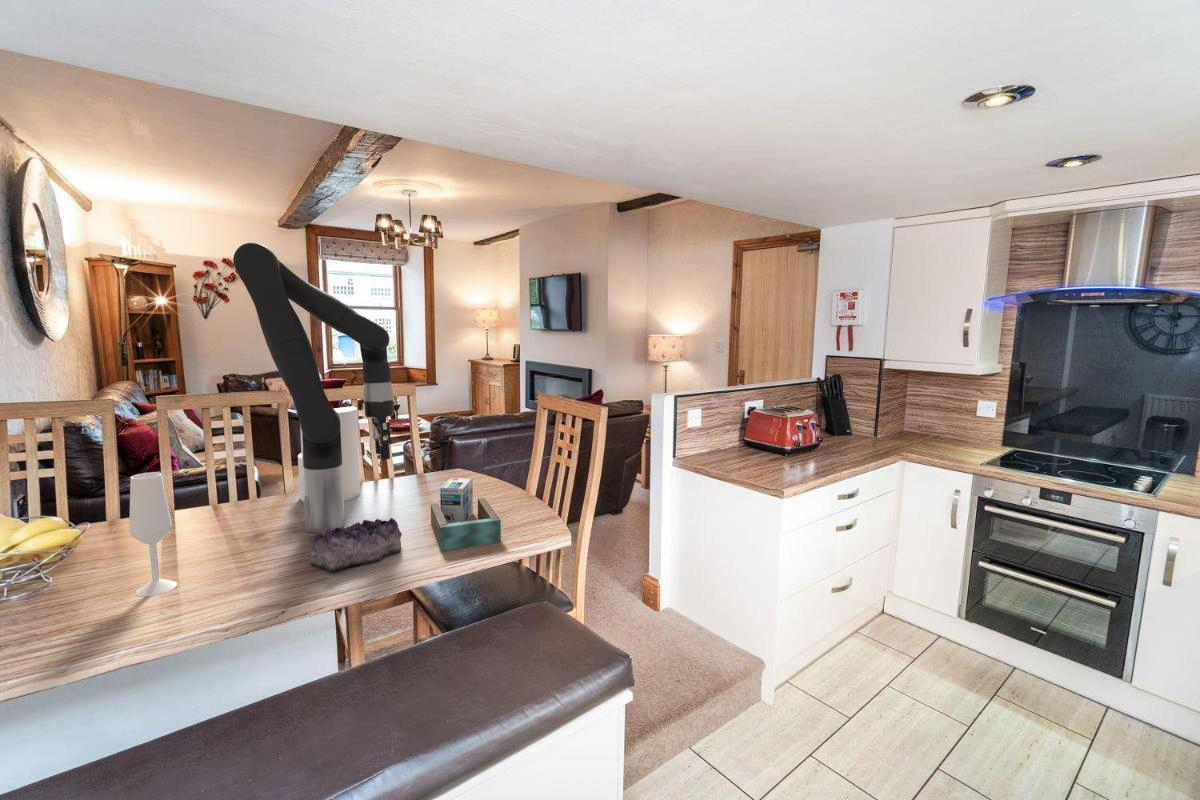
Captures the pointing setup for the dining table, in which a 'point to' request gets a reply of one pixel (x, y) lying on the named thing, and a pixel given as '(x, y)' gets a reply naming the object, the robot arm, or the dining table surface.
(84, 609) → the dining table surface
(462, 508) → the light bulb box
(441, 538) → the channel
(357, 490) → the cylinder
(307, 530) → the robot arm
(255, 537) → the dining table surface
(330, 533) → the geode
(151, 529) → the champagne flute
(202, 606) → the dining table surface
